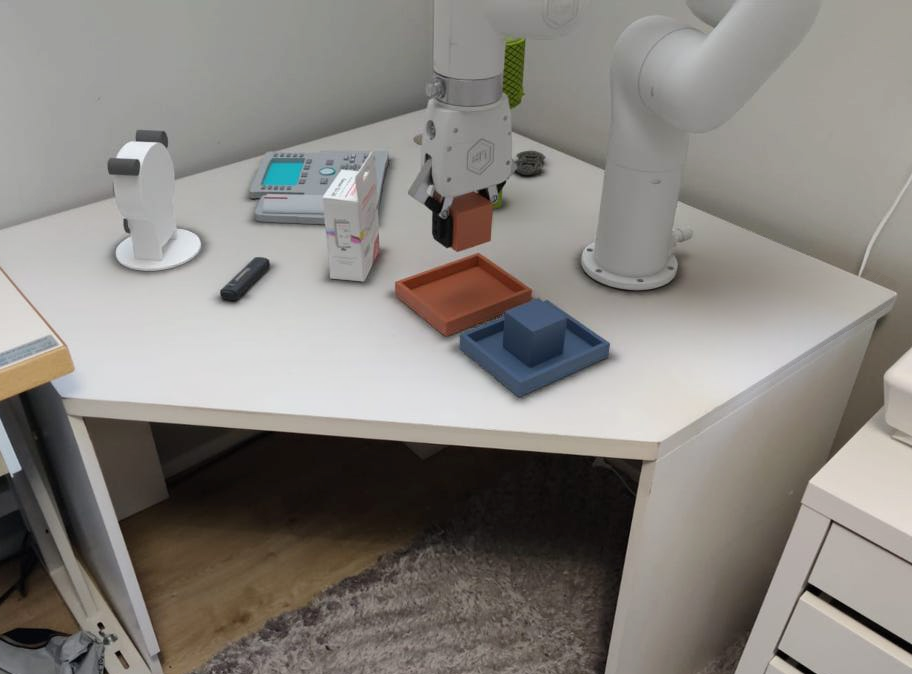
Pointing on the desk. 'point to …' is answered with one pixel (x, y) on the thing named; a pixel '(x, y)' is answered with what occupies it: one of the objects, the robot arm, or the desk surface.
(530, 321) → the slate block
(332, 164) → the office telephone
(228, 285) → the usb stick
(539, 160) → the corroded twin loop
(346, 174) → the ink cartridge box
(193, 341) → the desk surface
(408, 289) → the terracotta tray
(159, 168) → the panda figurine
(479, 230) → the terracotta block
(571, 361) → the slate tray
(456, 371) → the desk surface
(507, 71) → the microphone
